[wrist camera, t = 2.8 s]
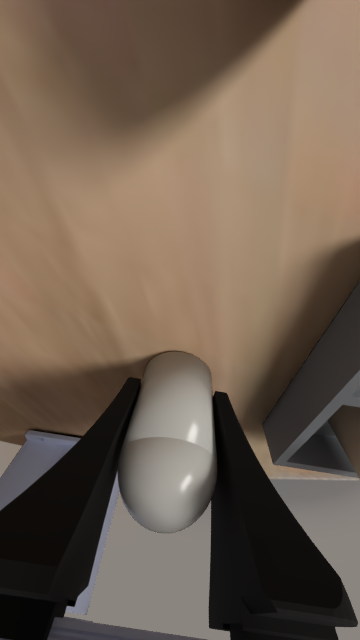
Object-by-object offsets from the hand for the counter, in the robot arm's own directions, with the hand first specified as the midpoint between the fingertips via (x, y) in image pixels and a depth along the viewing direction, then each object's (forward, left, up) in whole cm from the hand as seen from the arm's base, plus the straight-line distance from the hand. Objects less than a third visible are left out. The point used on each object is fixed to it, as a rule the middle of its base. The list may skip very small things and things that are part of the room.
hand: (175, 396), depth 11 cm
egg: (0, 0, -1) cm, 1 cm away
